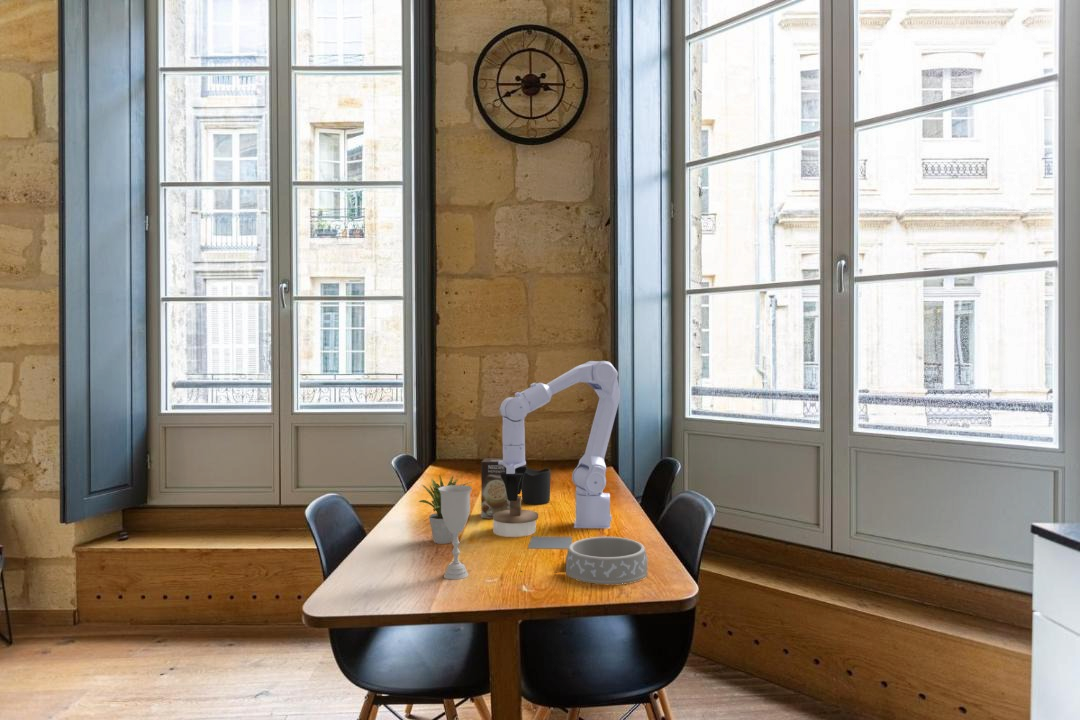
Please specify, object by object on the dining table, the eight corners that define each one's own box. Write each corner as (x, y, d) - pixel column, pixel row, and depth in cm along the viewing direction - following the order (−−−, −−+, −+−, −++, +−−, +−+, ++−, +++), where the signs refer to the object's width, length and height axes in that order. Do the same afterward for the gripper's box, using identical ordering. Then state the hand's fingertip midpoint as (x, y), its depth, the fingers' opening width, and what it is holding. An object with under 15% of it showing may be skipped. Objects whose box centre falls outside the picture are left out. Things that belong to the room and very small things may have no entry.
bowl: (537, 528, 172) (537, 513, 172) (533, 539, 161) (533, 523, 161) (497, 527, 173) (497, 512, 173) (490, 538, 162) (490, 522, 162)
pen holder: (538, 497, 210) (537, 466, 210) (557, 502, 203) (556, 470, 203) (514, 501, 204) (514, 469, 204) (533, 506, 197) (533, 473, 197)
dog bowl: (561, 584, 130) (561, 557, 130) (570, 557, 148) (570, 533, 148) (648, 588, 127) (648, 560, 127) (647, 559, 145) (646, 535, 145)
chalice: (480, 575, 134) (479, 488, 134) (453, 583, 130) (452, 493, 130) (458, 567, 140) (457, 483, 140) (432, 575, 135) (431, 488, 135)
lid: (540, 512, 172) (539, 492, 172) (536, 523, 161) (535, 502, 161) (496, 512, 173) (496, 492, 173) (489, 523, 162) (489, 501, 162)
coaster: (572, 539, 161) (572, 537, 161) (570, 551, 151) (570, 548, 151) (532, 538, 162) (532, 536, 162) (527, 550, 152) (527, 548, 152)
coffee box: (480, 518, 183) (479, 461, 183) (484, 513, 189) (483, 458, 189) (512, 519, 182) (512, 461, 182) (515, 513, 188) (515, 458, 188)
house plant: (468, 551, 152) (467, 481, 152) (409, 550, 153) (408, 480, 153) (477, 534, 166) (477, 470, 166) (424, 534, 167) (423, 470, 167)
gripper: (502, 440, 174) (503, 491, 175) (493, 448, 160) (494, 503, 160) (528, 440, 174) (529, 491, 174) (522, 448, 159) (523, 503, 159)
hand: (514, 497), depth 167 cm, fingers open, 7 cm apart
